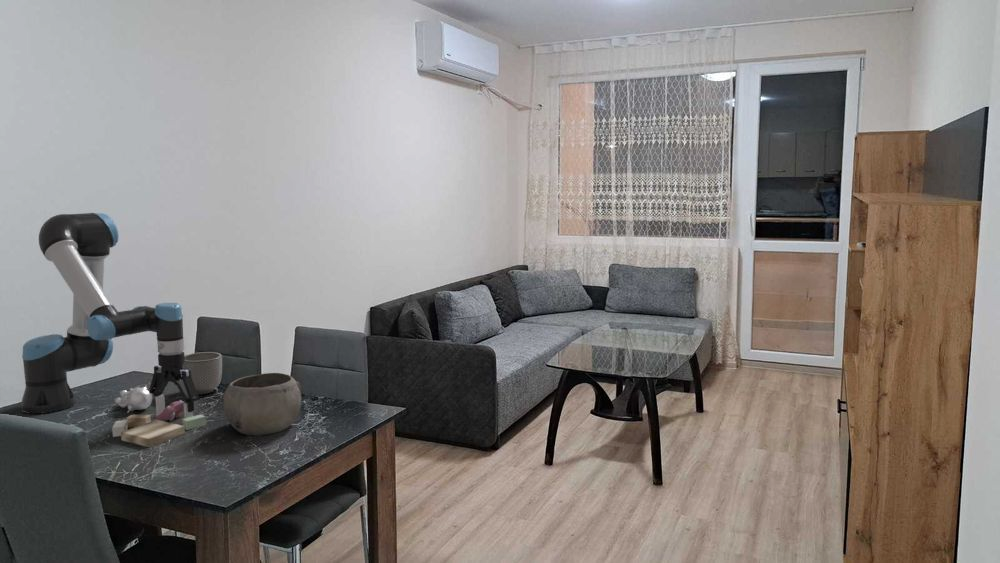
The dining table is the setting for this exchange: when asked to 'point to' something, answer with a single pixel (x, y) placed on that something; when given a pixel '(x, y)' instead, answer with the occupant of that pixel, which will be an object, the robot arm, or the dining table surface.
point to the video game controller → (172, 411)
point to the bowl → (262, 403)
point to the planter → (204, 370)
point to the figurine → (135, 399)
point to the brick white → (119, 427)
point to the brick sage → (194, 422)
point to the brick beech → (138, 420)
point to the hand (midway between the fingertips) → (175, 418)
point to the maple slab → (152, 433)
